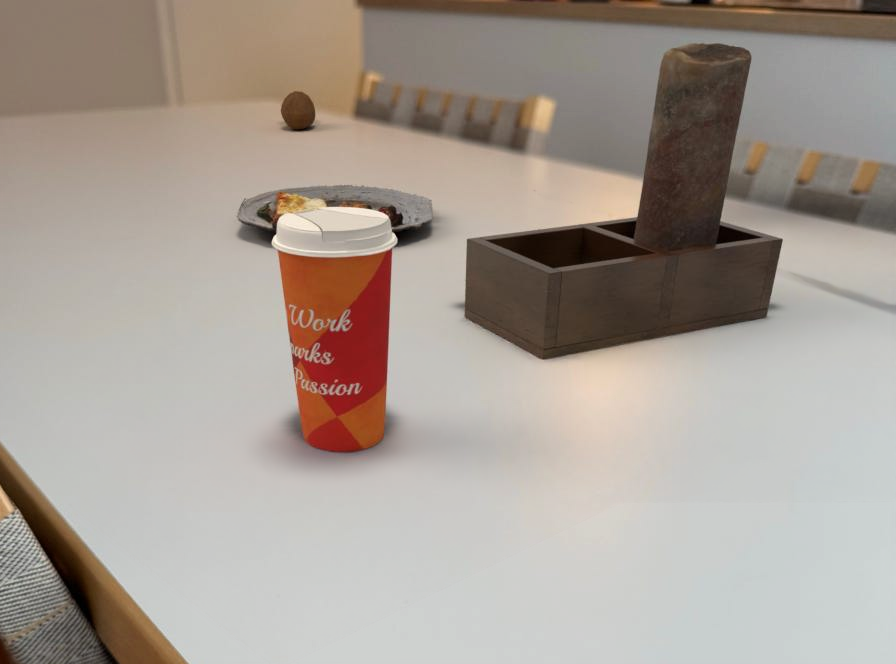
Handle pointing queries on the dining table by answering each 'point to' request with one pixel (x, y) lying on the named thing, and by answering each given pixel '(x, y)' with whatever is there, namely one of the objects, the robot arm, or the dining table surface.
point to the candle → (691, 145)
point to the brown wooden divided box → (613, 285)
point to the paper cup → (338, 321)
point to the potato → (298, 110)
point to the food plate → (336, 204)
